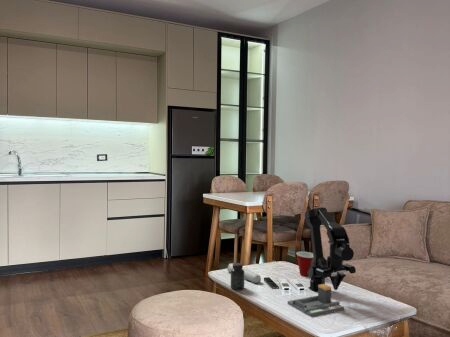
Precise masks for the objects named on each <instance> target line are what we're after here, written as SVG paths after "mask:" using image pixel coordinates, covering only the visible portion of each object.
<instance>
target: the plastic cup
mask: <svg viewBox="0 0 450 337" xmlns="http://www.w3.org/2000/svg"><path fill="white" fill-rule="evenodd" d="M295 254H296V256H297V263H298V264H297V265H298V271H299V275H300V276H302V277H308V278H309V276H308V270H309V269H310V267H311V261H312V259H313V252H309V251H296V253H295Z"/></svg>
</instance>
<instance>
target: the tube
mask: <svg viewBox="0 0 450 337" xmlns="http://www.w3.org/2000/svg"><path fill="white" fill-rule="evenodd" d="M233 264H234V262H233V263H229V264H228V265H227V272H228V273H231V270H232V269H233ZM242 269H243V270H244V280H246V281H249V282H251V283H253V284H259V283H260V282H261V281H262V278H261V276H260V274H258V273H256V272H254V271H251V270H250V269H247V268H242Z"/></svg>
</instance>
